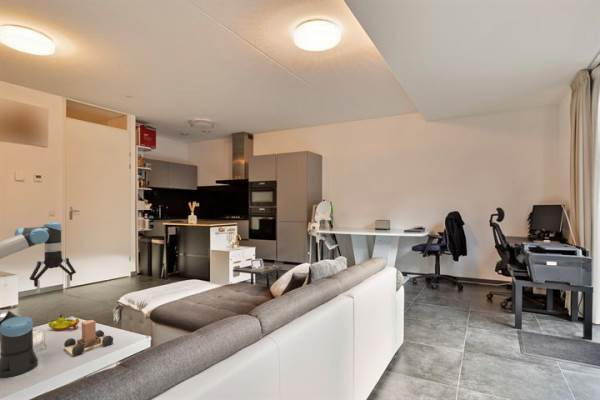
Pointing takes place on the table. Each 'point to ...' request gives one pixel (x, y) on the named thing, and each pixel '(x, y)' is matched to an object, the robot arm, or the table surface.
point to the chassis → (87, 344)
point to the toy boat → (63, 323)
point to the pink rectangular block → (88, 331)
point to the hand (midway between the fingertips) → (53, 289)
